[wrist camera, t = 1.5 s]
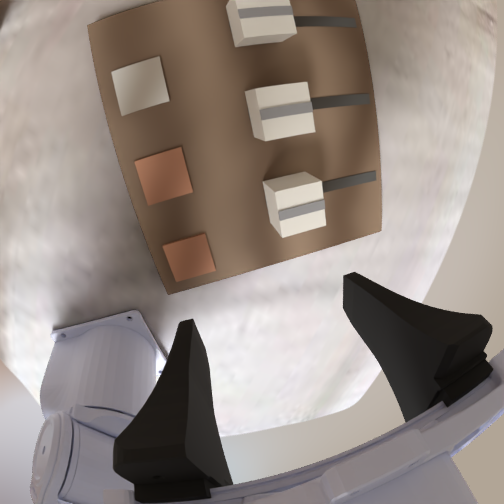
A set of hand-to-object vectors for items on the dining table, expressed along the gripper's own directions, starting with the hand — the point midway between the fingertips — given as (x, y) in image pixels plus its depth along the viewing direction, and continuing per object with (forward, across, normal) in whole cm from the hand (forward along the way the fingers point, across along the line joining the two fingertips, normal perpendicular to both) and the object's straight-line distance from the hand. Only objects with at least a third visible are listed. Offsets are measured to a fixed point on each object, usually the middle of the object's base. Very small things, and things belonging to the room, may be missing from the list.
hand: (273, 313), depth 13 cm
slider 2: (+8, -4, -2) cm, 9 cm away
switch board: (+10, -3, -7) cm, 12 cm away
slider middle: (+8, -4, -8) cm, 12 cm away
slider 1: (+8, -4, -14) cm, 17 cm away
